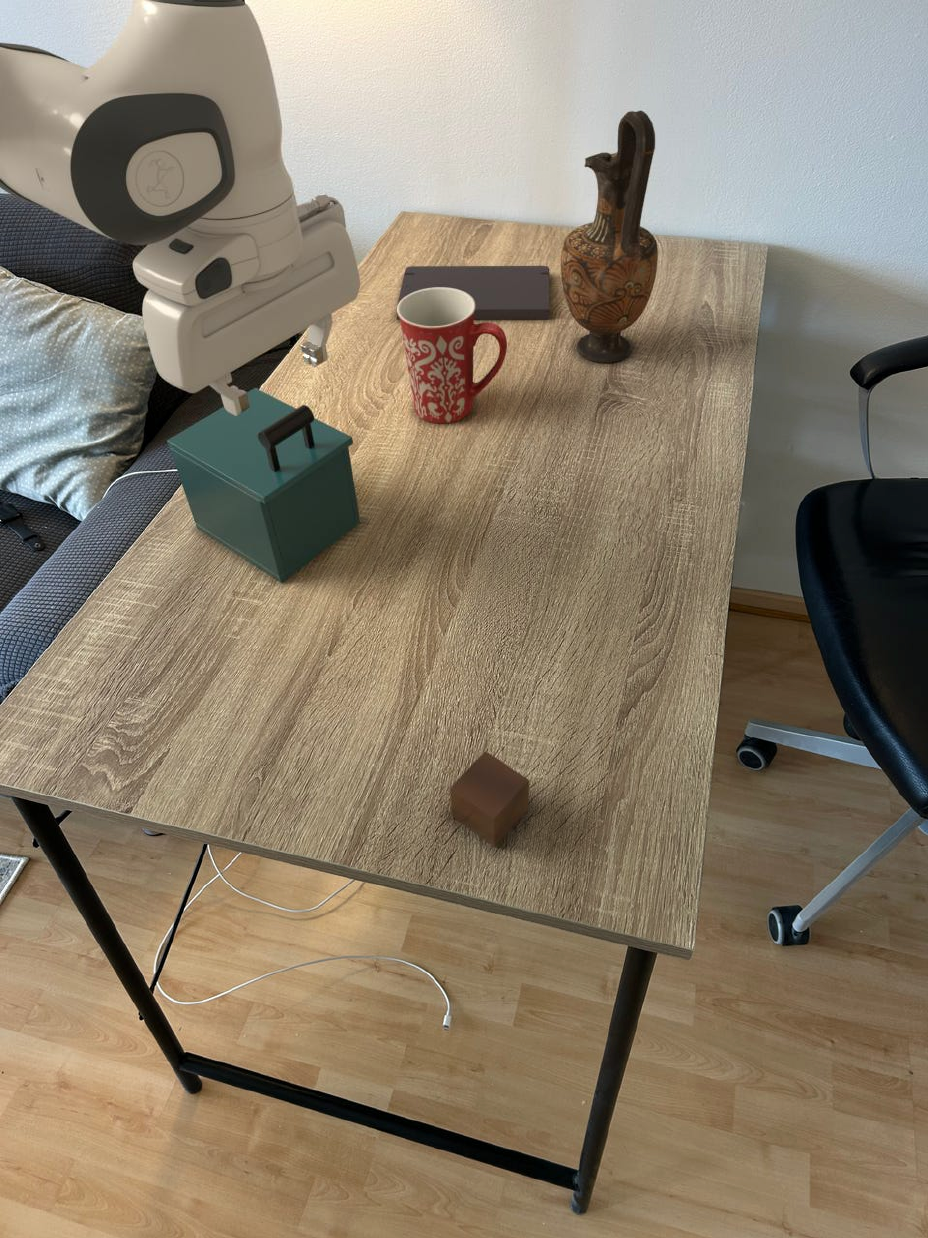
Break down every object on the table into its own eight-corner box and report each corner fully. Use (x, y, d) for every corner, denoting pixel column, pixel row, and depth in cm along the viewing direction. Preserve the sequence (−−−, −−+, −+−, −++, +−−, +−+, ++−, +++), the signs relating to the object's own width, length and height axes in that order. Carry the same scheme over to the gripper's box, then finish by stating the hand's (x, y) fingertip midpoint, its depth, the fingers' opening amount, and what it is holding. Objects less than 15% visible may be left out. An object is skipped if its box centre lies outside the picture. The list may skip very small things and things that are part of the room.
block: (494, 848, 70) (494, 819, 67) (452, 817, 72) (449, 787, 69) (528, 809, 73) (529, 780, 69) (486, 780, 75) (485, 750, 71)
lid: (353, 443, 89) (346, 398, 85) (265, 504, 83) (253, 459, 79) (256, 393, 95) (246, 349, 91) (168, 447, 89) (153, 402, 85)
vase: (623, 320, 123) (648, 76, 101) (664, 366, 115) (701, 112, 93) (543, 336, 121) (552, 91, 99) (580, 385, 113) (598, 129, 91)
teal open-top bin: (360, 523, 97) (347, 441, 89) (281, 583, 91) (259, 501, 83) (276, 474, 103) (256, 394, 95) (196, 528, 97) (169, 447, 89)
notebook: (397, 319, 126) (549, 319, 124) (395, 309, 124) (549, 308, 123) (406, 275, 134) (549, 275, 133) (405, 265, 133) (549, 265, 132)
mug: (395, 422, 109) (384, 320, 99) (420, 382, 115) (412, 281, 105) (494, 438, 106) (493, 335, 96) (515, 396, 112) (516, 295, 102)
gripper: (312, 177, 77) (336, 325, 87) (112, 271, 66) (166, 426, 77) (365, 195, 74) (383, 345, 84) (165, 296, 64) (213, 453, 74)
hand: (278, 385), depth 80 cm, fingers open, 8 cm apart
